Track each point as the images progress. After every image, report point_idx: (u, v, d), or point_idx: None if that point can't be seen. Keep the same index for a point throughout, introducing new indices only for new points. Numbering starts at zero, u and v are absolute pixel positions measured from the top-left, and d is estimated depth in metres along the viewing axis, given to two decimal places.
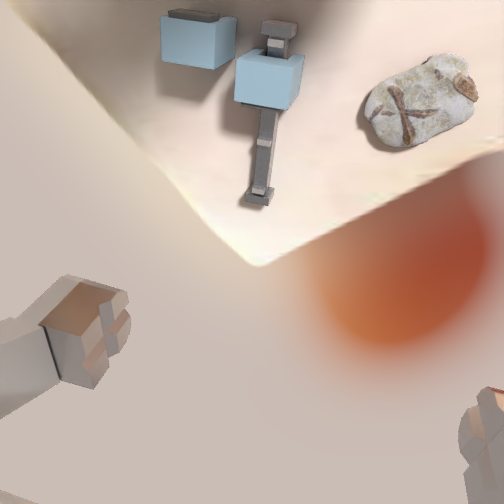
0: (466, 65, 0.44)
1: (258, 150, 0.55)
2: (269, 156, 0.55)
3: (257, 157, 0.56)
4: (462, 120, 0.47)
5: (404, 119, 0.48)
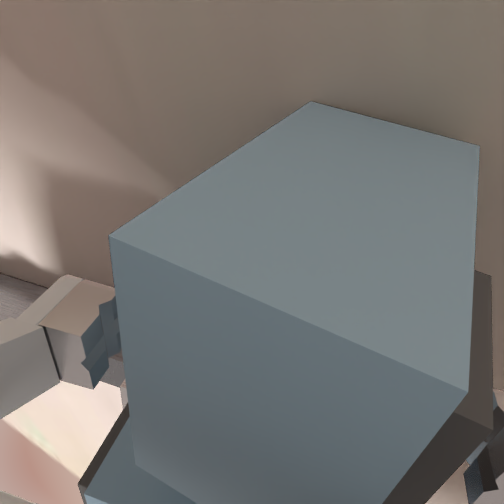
0: None
1: None
2: None
3: None
4: None
5: None
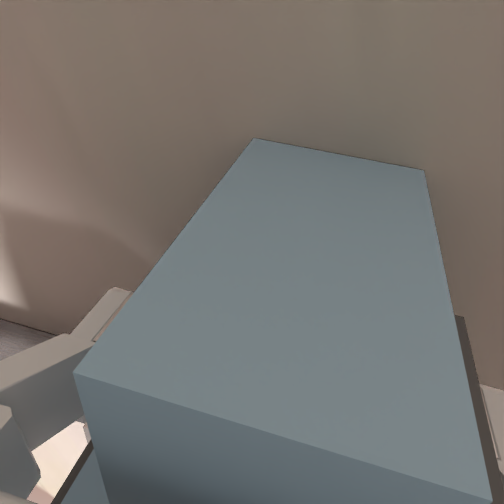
0: None
1: None
2: None
3: None
4: None
5: None
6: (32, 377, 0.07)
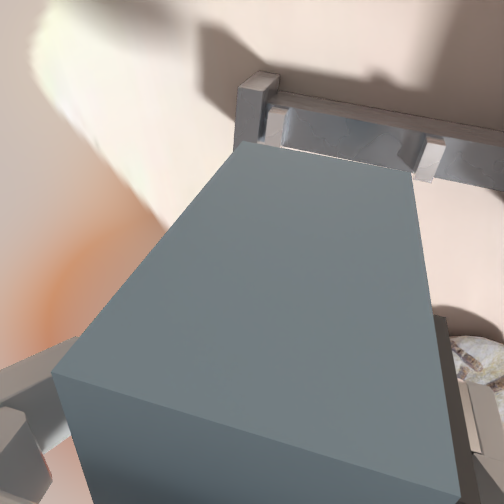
0: None
1: (398, 132, 0.19)
2: (376, 162, 0.20)
3: (376, 128, 0.19)
4: None
5: None
6: (45, 381, 0.07)
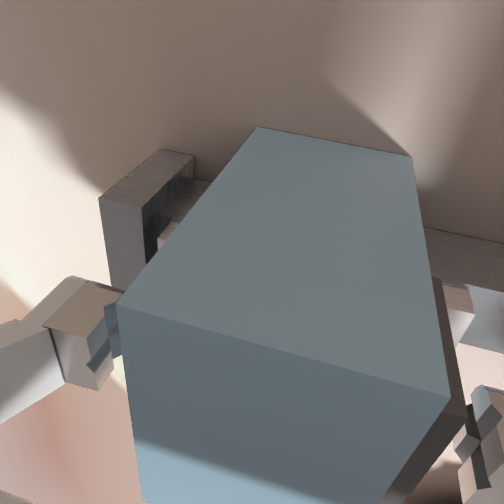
0: None
1: None
2: None
3: None
4: None
5: None
6: None
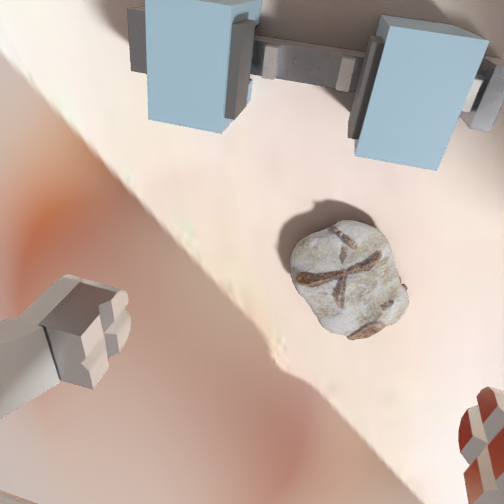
0: (390, 324, 0.37)
1: None
2: None
3: None
4: (325, 326, 0.38)
5: (333, 277, 0.34)
6: None
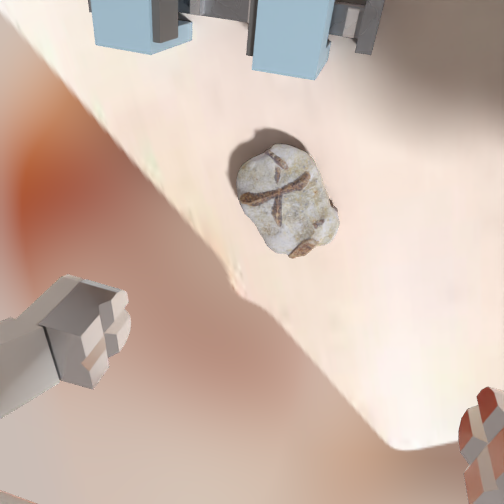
0: (324, 244, 0.42)
1: None
2: None
3: None
4: (270, 246, 0.43)
5: (270, 195, 0.39)
6: None
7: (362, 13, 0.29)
